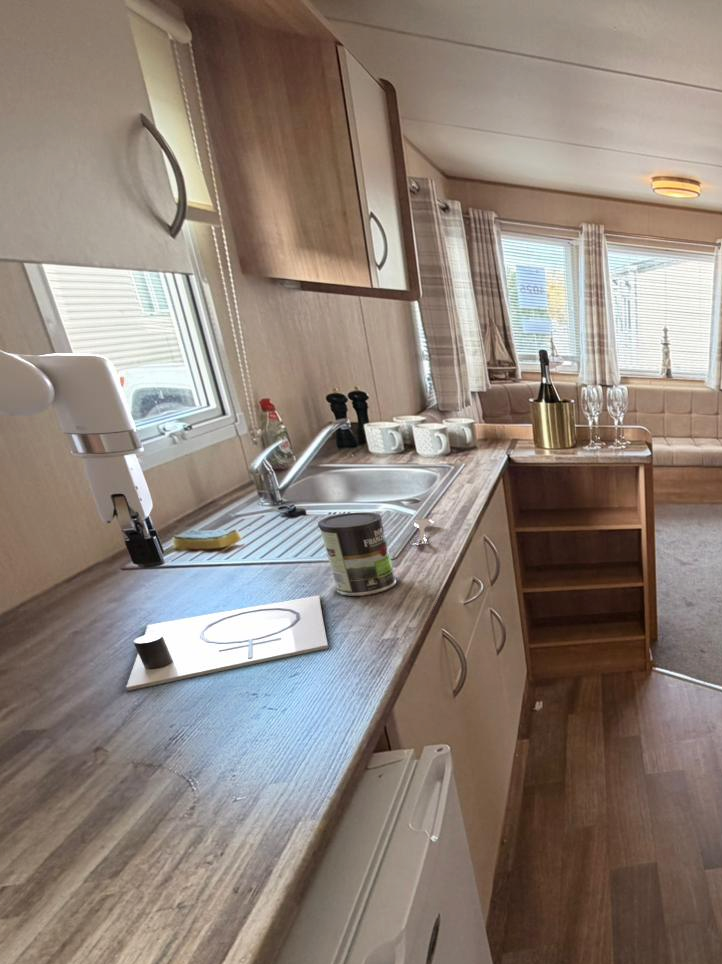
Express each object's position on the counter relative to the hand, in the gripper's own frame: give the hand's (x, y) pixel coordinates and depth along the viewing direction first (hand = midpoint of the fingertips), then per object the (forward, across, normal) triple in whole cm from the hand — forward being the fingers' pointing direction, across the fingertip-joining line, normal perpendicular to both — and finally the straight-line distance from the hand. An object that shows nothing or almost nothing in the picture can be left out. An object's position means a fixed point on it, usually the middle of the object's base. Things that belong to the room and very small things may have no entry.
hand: (149, 557), depth 102 cm
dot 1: (+1, 0, 0) cm, 1 cm away
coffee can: (+14, -8, +28) cm, 32 cm away
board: (+14, +6, +8) cm, 17 cm away
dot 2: (+14, +12, -1) cm, 18 cm away
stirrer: (+14, -34, +42) cm, 56 cm away
